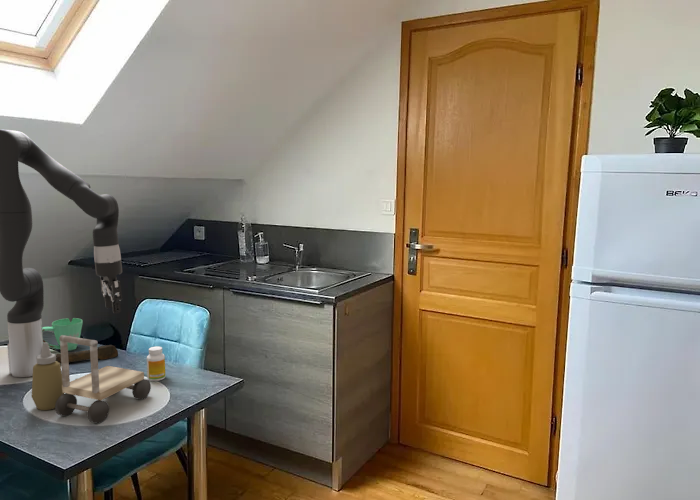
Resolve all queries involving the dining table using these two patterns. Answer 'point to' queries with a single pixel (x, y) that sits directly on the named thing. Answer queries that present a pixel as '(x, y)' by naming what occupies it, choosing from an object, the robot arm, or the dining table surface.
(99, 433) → the dining table surface
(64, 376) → the trolley
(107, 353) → the hand tool
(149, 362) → the supplement bottle
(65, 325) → the mug
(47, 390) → the squeeze bottle
